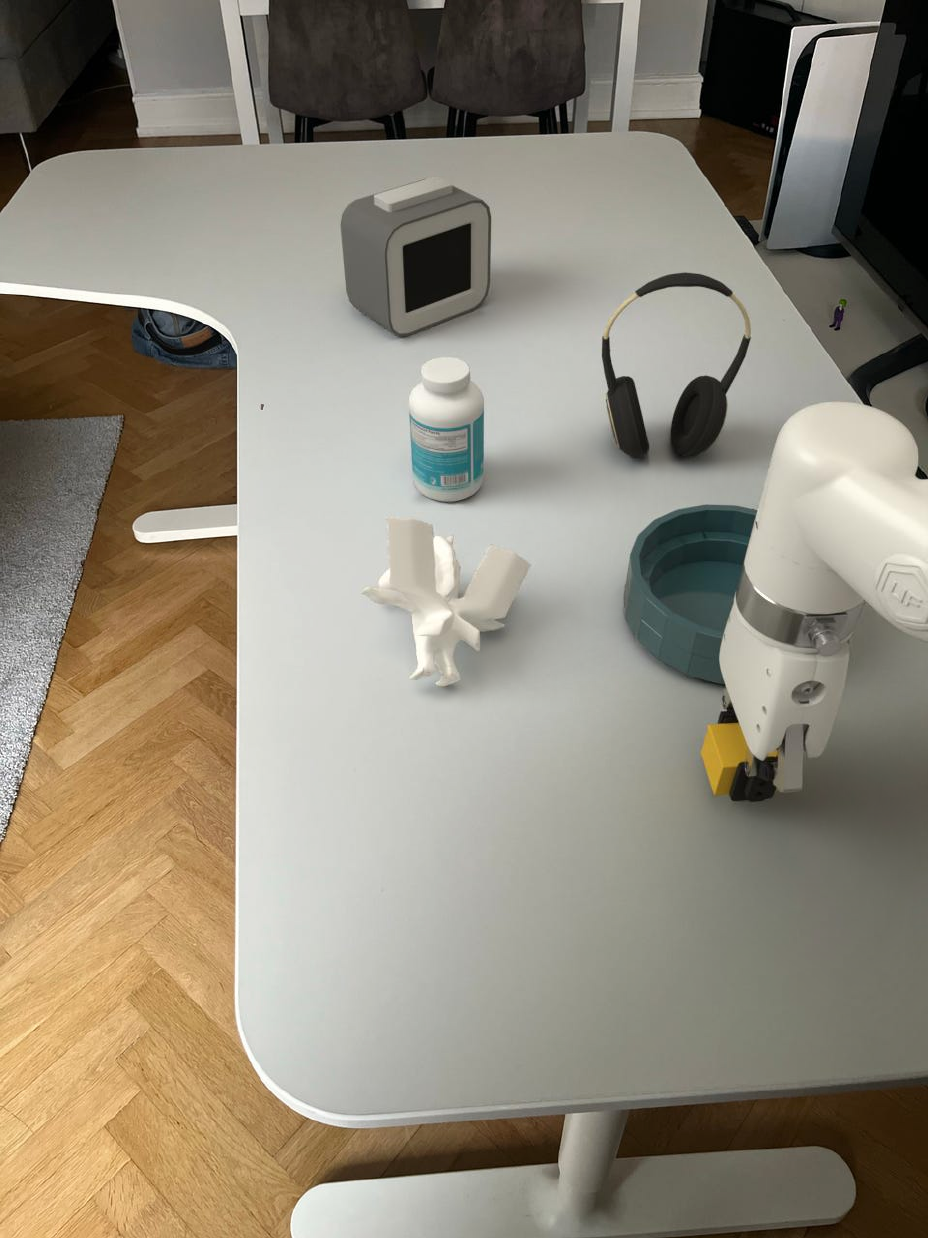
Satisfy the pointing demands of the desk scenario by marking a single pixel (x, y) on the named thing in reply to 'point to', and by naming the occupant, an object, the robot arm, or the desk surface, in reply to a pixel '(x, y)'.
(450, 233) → the alarm clock
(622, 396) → the headphones
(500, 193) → the desk surface
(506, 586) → the figurine
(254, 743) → the desk surface
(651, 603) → the bowl
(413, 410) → the pill bottle
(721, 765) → the yellow block
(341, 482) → the desk surface
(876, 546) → the robot arm
